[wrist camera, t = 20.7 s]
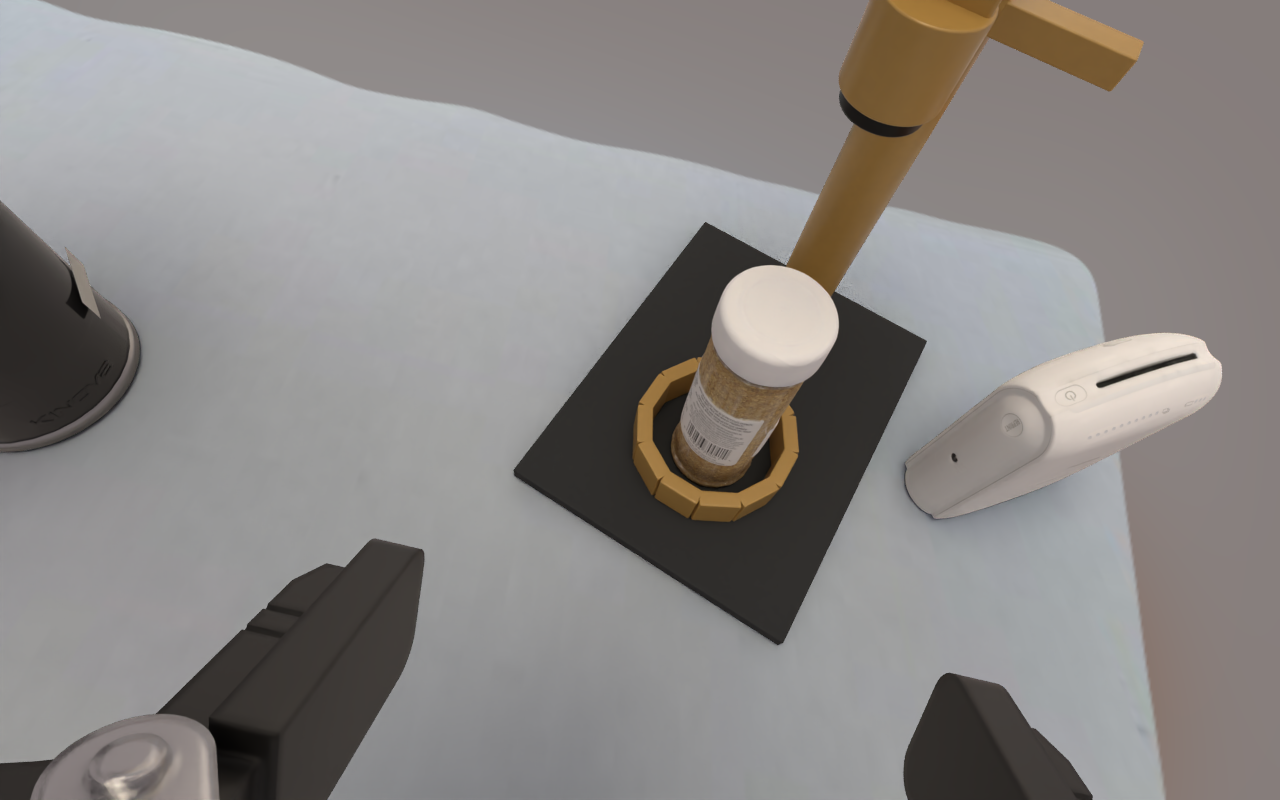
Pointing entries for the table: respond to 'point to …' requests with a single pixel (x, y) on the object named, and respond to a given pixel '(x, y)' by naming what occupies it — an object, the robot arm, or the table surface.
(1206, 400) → the photo printer
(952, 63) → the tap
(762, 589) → the drip mat
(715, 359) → the sprinkles bottle
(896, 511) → the table surface
